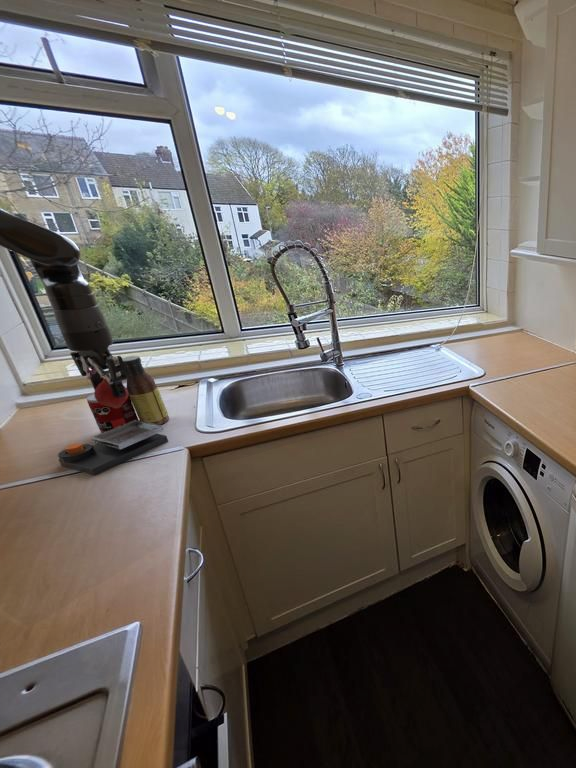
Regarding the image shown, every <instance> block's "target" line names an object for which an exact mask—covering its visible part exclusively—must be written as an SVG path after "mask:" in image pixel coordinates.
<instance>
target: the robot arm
mask: <svg viewBox="0 0 576 768" xmlns="http://www.w3.org/2000/svg"><path fill="white" fill-rule="evenodd" d="M0 247H1V248H4V249H7V250H9V251H11V252H13V253H16V254H18V255H20V256H23V257H25V258H27V259H28V260H29V261H30V264H31V265H32V267H33V269H34V271H35V272H36V274H37V276H38V278H39V279H40V281H41V283H42V285H43V288H44V291H45V294H46V297H47V299H48V301H49V304H50V306H51V308H52V311H53V315H54V319H55V322H56V324H57V326H58V328H59V331H60V334H61V335H62V338H63V340H64V343H65V345H66V348H67V349H68V350H69V351H71V352H70V354H69V355H70V356H71V358H72V360H73V362H74V364H75V366H76V368H77V369H78V371H79V373H80V375H81V376H82V377H86V378H87V380H88V381H90V382H91V385H92V388H93V391H95V389H96V387H97V386H98V385H99V384H100V383H101V382H102V381H103V379H104V378H105V379H106V380H107V381H108V383H109V386H110V389H111V391H112V393H113V396H114V397H115V398H120V397H123V396H126V391H125V388H124V386H125V385H124V383H123V381H127V374H126V370H125V367H124V363H123V360H122V358H123V357H122V356H121V355H116V356H113V354H112V353H111V352H110V350H109V347H110V346H112V345H113V344H114V339H113V337H112V334H111V331H110V328H109V326H108V324H107V321H106V318H105V315H104V313H103V312H102V310H101V308H100V306H99V304H98V301H97V299H96V297H95V294H94V291H93V290H92V289H93V288H92V287H91V285H90V283H89V282H88V280H87V279H85V277H84V275H83V273H82V270H81V268H80V266H79V261H80V259H81V251H80V249H79V247H78V245H77V244H76V243H75V242H74V241H73V240H72V239H70V238H69V237H67V236H65V235H62V234H60V233H58V232H56V231H54V230H51V229H49V228H46V227H44V226H41V225H39V224H37V223H34V222H32V221H28V220H26V219H23V218H21V217H18V216H17V215H14V214H12V213H11V212H9V211H7V210H5V209H3V208H0ZM123 385H124V386H123Z"/></svg>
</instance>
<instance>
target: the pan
mask: <svg viewBox="0 0 576 768" xmlns="http://www.w3.org/2000/svg"><path fill="white" fill-rule="evenodd" d="M163 431H165V428H164V426H163V424H160V425H158V424H153V423H149V422H145V421H140V420H139V419H138V420H133V421H131V422H128V423H126V424H123V425H121V426H118V427H116V428H113V429H111V430H108V431H106V432H103V433H101V432H100V433H98V434H96V435H93V436H91V437H90V438H89V439H90V441H91V444H92V443H93V444H100V445H104V446H108V447H111V448H115V449H119V450H120V449H123V448H125V447H127V446H130V445H132V444H134V443H136V442H139V441H141V440H143V439H145V438H148V437H150V436H152V435H155V434H160V433H161V432H163Z"/></svg>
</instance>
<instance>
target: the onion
mask: <svg viewBox="0 0 576 768" xmlns="http://www.w3.org/2000/svg"><path fill="white" fill-rule="evenodd" d="M103 378H104V379H103V381H102V382H101V383H100V384H99V385H98V386H97V387H96V389H95V390H94V393H93V394H94V395H95V398H96V400H97V401H98V402H99V403H100V404H102V405H105V406H109V407H112V408H119V407H121V405H122V404H123V403H124V402H125V401H126V400H127V398H128V391H127V389H126V387H127V386H125V385H124V384H123V386H124V388H125V391H126V396H123V397H120V398H115V397H114V396H113V393H112V391H111V389H110V386H109V383H108V381H107V380H106V379H105V377H103Z"/></svg>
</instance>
